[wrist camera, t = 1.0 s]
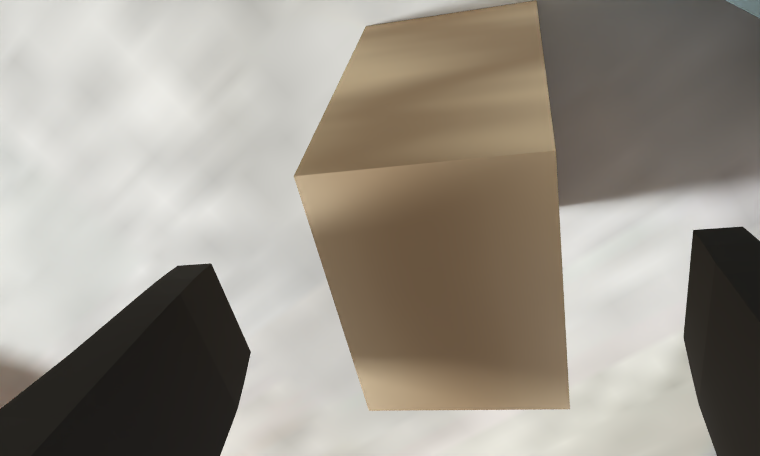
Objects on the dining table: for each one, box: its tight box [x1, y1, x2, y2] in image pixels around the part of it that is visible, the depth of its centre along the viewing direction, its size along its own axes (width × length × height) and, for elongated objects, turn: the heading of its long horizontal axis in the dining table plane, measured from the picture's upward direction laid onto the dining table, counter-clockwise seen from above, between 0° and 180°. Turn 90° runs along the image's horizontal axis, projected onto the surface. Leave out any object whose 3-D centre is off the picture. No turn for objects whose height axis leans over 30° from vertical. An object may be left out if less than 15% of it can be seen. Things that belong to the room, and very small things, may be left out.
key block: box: [294, 1, 570, 411], centre depth 12 cm, size 4×5×6 cm
